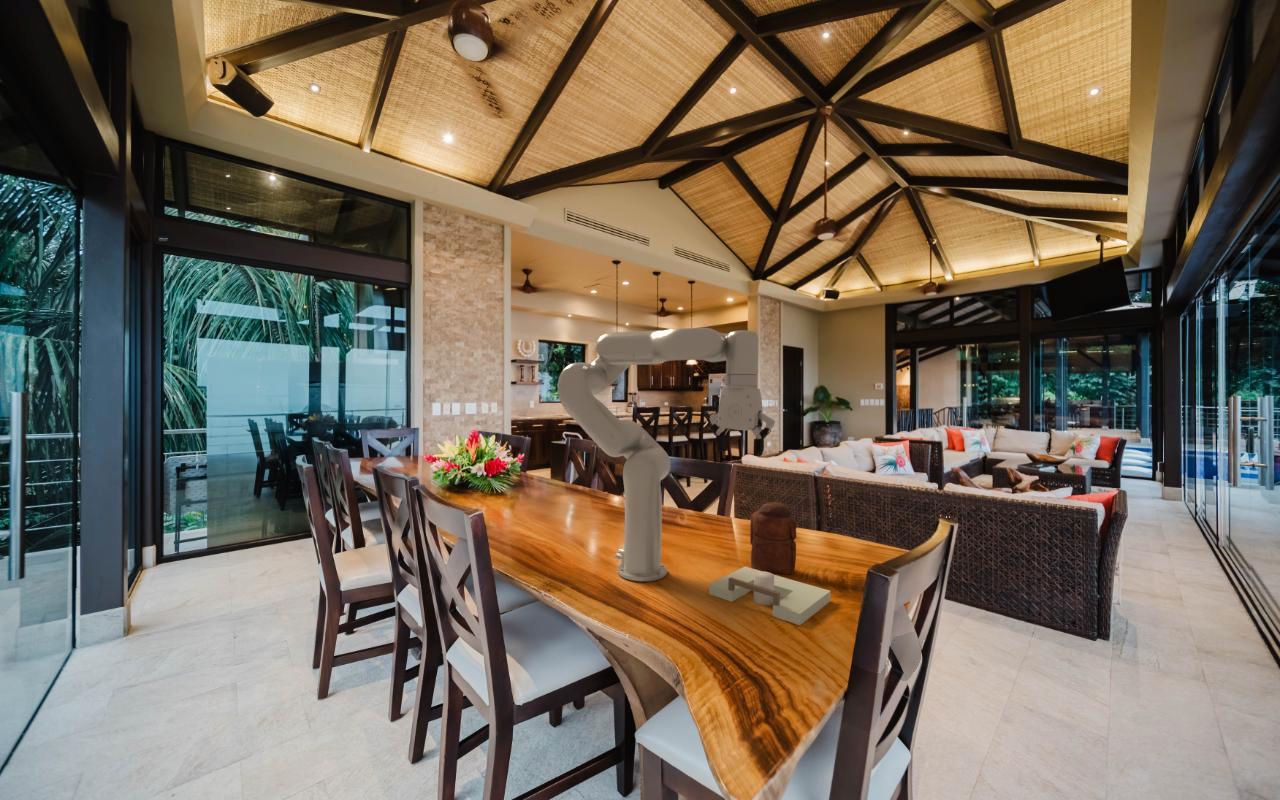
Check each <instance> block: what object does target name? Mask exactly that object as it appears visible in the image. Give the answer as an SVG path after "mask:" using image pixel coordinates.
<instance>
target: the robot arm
mask: <svg viewBox="0 0 1280 800" xmlns="http://www.w3.org/2000/svg"><path fill="white" fill-rule="evenodd" d="M759 341H760V340H759V335H758V333H757V332H755V331H753V330H746V329H744V330H743V329H742V330H741V329H740V330H732V331H730V332H729V333H723V332H719V331H717V330H715V329H714V328H709V327H689V328H687V327H686V328H672V329H671V328H670V329H657V330H641V331H640V330H639V331H615V332H614V331H612V332H611V331H610V332H607V333H604V334H603V335H601V336H600V337H599V338H598V339H597V341H596V343H595V352H596V355H597V357H596V358H595V359H594V360H593V361H592V362H590V363H587V362H581V361H580V362H574V363H570V364H569V365H567V366H566V367H565V368H563V370H562V371H561V373H560V374H559V376H558V381H557V394H558V398H559V401H560V403H561V405H562V407H563V409H564V410H565V411H566V413H567V414H568V415H569V416H570V417H571V418H572V420H574V422H576V423H577V424H578V426H580V427H581V428H582V430H583V431H584V432H585V433H586V434H587V435H588V436H589V438H590V439H591V440H592V441H593V442H594V443H595V444H596V445H597V446H598V447H599V448H600V449H601V450H602V451H603V452H604V454H606V455H608V456H609V457H612V458H619V457H624V458H625V459H626V461H625V463H624V465H623V469H622V470H623V471H622V480H623V486H624V487H623V488H624V489H623V490H624V547H623V548H624V549H623V548H619V549H618V550H617V551H618V552H616V553H615V556H614V557H615V559H618V560H620V563H621V564H619V566H618V568H617V572H618V575H619V576H620V577H621V578H623V579H626V580H629V581H634V582H654V581H659V580H661V579H663V578H665V577H666V576H667V573H668V569H667V566H666V565H665V564H663V563H662V526H663V525H662V522H663V512H662V511H663V498H662V496H663V495H662V489H661V488H662V487H661V481H662V480H664V479H665V478H666V477H667V476H668V474H669V473H670V471H671V465H672V464H671V459H670V457H669V454H668V453H667V452H666V450H664V448H663V447H662V446H661V445H660V444H659V443H658V441H656V440H655V439H654V438H653V437H652V436H651V435H650V434H649V433H648V432H647V431H646V430H645V429H644V427H642V426H641V425H639V423H637V422H635V421H633V420H630V419H620V418H618V417H617V416H616V415H615V414H614V413H613V412H612V411H611V410H610V409H609V408H608V407H607V406H606V405H605V404H604V403H603V402H601V401H600V400H599V399H598V398H596V396H594V395H597V394H598V395H599V394H600V393H602V392H604V391H605V390H606V389H608V388H609V387H610V386H611V385H612V384H613V383H614V382H615V381H616V380H617V379H618V378H619V377H620V376H621V375H622V374H623V373H624V372H625V371H626V370H627V369H628V368H629V367H630V366H632V365H659V364H663V363H665V362H669V361H694V360H695V361H705V362H710V363H718V362H719V363H720V362H725V361H726V362H725V363H726V364H725V377H722V378H721V382H722V383H723V384H725V387H722V389H721V393H720V398H719V403H718V404H719V405H718V411H717V412H716V413H715V414H713V415H711V416H710V417H709V422H710V424H711V428H712V429H713V430H714V431H715V435H716V436H717V448H718V450H717V451H718V452H720V453H724V452H727V451H728V448H729V446H728V445H729V440H728V439H729V438H728V437H729V436H728V434H727V433H728V431H730V430H737V431H751V432H752V433H753V435H754V437H755V438H754V439H753V456H754V457H758V456H759V457H760V456H763V453H764V450H765V439H766V438H767V436H768V435H769V434H770V433H771V432H772V429H773V428H774V426H775V423H776V421H775V420H774V419H773V418H771V417H769V416H768V415H766V414H765V413H764V412H763V411H764V409H763V400H762V399H763V398H762V392H761V389H760V388H758V387H759V385H758V381H759V380H758V378H759ZM763 422H764V423H765V427H764V428H762V427H763Z"/></svg>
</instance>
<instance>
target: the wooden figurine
mask: <svg viewBox="0 0 1280 800" xmlns="http://www.w3.org/2000/svg"><path fill="white" fill-rule="evenodd" d="M760 506H761V507H760V508H759V509H758V510H756V511H754V512H752V513H751V515H750V524H749V525H750V526H749V528H750V529H749V531H750V535H749V536H750V537H749V538H750V545H751V552H750V566H751V567H750V568H752V569H756V570H759V571H764V572H769V573H772V574H773V573H774V574H784V575H794V574H795V569H796V561H797V543H796V541H795V540H796V539H797V521H796V519H795V518H794V517H793V516H792V511H791V509H790V508H789V507H788V506H786V505H785V504H784V503H781V502H778V501H776V502H775V501H773V502H772V501H771V502H770V501H769V502H767V503H764V504H763V505H760Z"/></svg>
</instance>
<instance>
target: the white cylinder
mask: <svg viewBox="0 0 1280 800" xmlns="http://www.w3.org/2000/svg"><path fill="white" fill-rule="evenodd" d="M774 575H775V574H773V572H764V571H759V572H755V573H754V585H757V586H761V587H764V588H767V589H770V590H774ZM753 602H754V603H755V604H757V605H760V606H773V597H771V596H768V595H765V594H762V593H759V592H755V591H753Z"/></svg>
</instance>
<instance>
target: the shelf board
mask: <svg viewBox="0 0 1280 800" xmlns="http://www.w3.org/2000/svg"><path fill="white" fill-rule="evenodd" d="M755 572H759V570H756V569H753V568H751V567H748V566H742V567H741V568H739V569H737V570H735V571H732V572H731V573H729V574H727V575H724V576H723V577H721V578H719V579H717V580H715V581H713V582H711V583H709V594H708V595H710V596H714V597H717V598H719V599H723V600H725V601H729V602H730V603H732V602H734V601H736V600H737V599H739V598H741V597H743V596H745V595H746V594H748V593H750V592H752V591H753V592H754V591H755V592H759V593H762V594H765V595H768V596H771V597H773V604H772V617H775V618H777V619H780V620H783V621H786V622H788V623H792V624H794V625H797V626H801V625H803V624H804V623H805V622H806V621H808V620H809V619H810V618H811V617H813V615H815V614H817V612H819V611H820V610H822V609H823V608H824V607H825V606H826V605H828V604H829V603H830V602H831V593H832V592H831V590H829V589H825V588H821V587H819V586H815V585H811V584H809V583H804V582H800V581H797V580H793V579H790V578H787V577H783V576H780V575H777V574H776V575H775V574H773V575H774V590H770V589H767V588H764V587H761V586H757V585H754V573H755Z"/></svg>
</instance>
